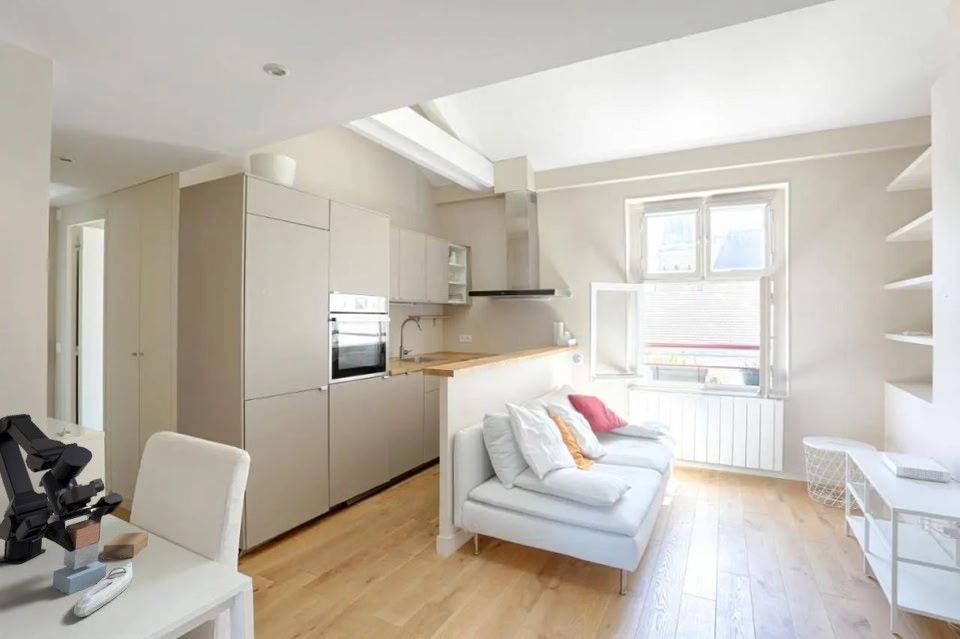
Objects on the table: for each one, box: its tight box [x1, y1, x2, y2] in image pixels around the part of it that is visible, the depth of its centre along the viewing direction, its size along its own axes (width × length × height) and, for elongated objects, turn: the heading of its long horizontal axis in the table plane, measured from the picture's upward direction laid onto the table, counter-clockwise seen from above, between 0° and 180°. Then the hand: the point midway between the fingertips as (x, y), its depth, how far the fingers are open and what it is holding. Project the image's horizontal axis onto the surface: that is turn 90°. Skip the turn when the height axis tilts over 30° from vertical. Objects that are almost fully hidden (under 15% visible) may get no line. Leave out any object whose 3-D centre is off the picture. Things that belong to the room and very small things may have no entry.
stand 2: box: [102, 531, 149, 559], centre depth 121 cm, size 7×7×4 cm
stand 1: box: [52, 560, 107, 596], centre depth 106 cm, size 7×7×4 cm
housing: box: [63, 518, 101, 570], centre depth 106 cm, size 4×4×9 cm
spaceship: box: [73, 561, 134, 618], centre depth 104 cm, size 23×7×4 cm, turn 16°
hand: (85, 546), depth 105 cm, fingers open, 5 cm apart
